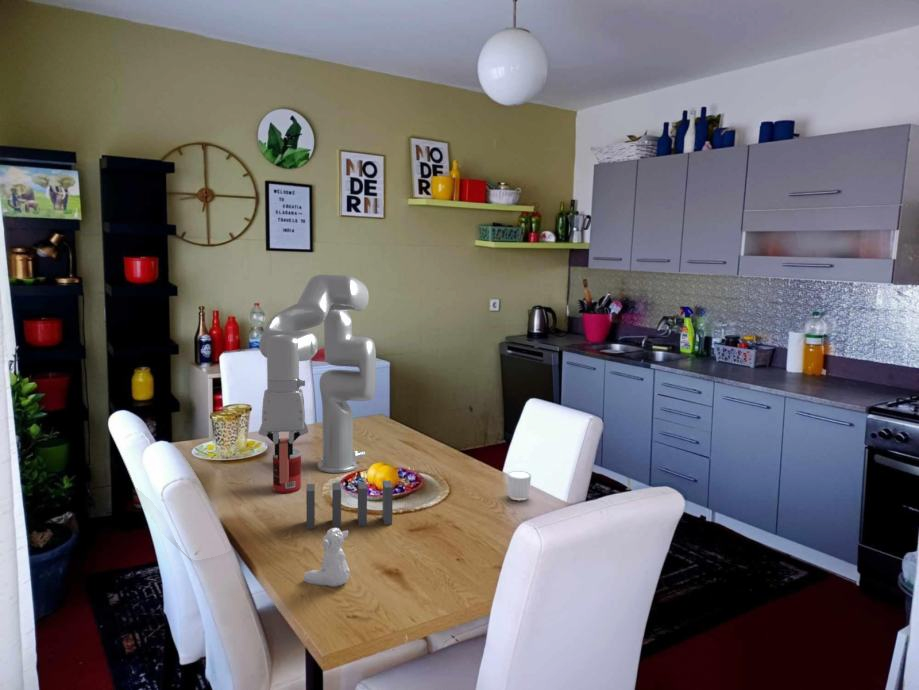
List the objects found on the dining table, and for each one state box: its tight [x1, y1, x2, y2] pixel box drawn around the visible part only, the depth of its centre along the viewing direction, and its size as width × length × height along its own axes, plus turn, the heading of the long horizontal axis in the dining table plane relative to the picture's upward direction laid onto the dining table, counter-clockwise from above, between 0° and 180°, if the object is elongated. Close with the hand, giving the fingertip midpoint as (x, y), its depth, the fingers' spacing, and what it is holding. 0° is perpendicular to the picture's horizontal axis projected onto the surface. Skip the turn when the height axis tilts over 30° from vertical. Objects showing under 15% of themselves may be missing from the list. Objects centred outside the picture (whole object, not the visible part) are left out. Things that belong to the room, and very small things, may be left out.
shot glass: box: [507, 470, 532, 498], centre depth 193 cm, size 7×7×7 cm
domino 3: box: [357, 481, 368, 527], centre depth 173 cm, size 2×5×10 cm, turn 12°
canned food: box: [272, 448, 302, 495], centre depth 194 cm, size 8×8×11 cm
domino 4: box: [382, 480, 394, 526], centre depth 174 cm, size 2×5×10 cm, turn 12°
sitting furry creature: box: [303, 527, 351, 588], centre depth 142 cm, size 10×9×12 cm
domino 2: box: [331, 482, 342, 529], centre depth 171 cm, size 2×5×10 cm, turn 12°
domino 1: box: [305, 483, 316, 530], centre depth 170 cm, size 2×5×10 cm, turn 12°
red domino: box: [279, 437, 289, 484], centre depth 167 cm, size 2×5×10 cm, turn 13°
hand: (283, 457), depth 166 cm, fingers closed on red domino, 1 cm apart
